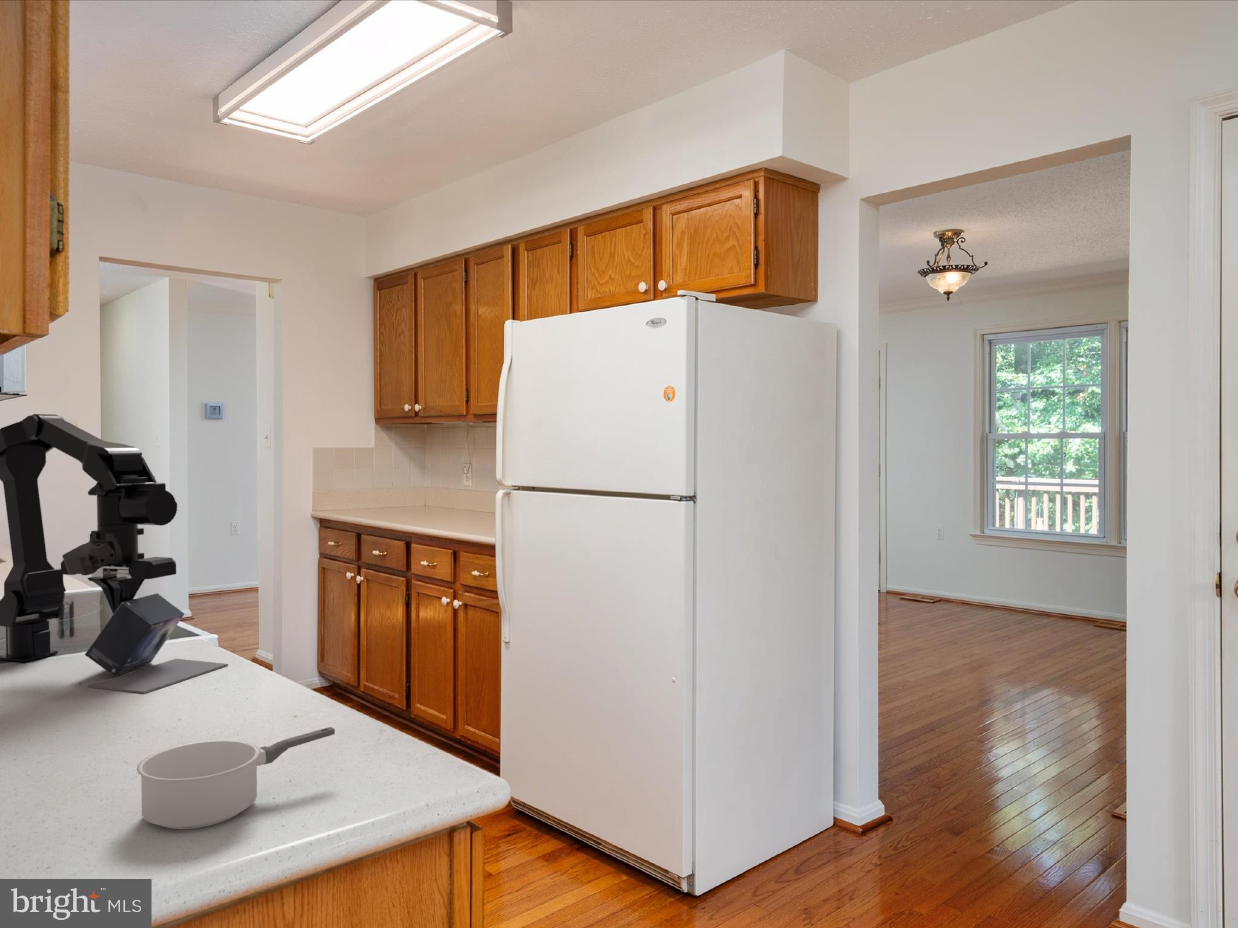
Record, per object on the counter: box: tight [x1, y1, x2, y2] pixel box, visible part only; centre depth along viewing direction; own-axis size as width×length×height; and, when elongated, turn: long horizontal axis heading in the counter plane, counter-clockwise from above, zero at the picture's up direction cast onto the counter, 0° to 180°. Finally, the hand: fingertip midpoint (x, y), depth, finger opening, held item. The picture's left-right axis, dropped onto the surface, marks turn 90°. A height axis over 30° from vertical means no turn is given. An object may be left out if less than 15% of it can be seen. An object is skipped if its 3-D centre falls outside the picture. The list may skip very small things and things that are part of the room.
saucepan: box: [136, 726, 336, 830], centre depth 93 cm, size 12×20×6 cm, turn 133°
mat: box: [87, 658, 229, 695], centre depth 141 cm, size 11×17×1 cm, turn 162°
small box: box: [84, 593, 185, 677], centre depth 143 cm, size 11×6×10 cm
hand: (119, 618), depth 143 cm, fingers closed
